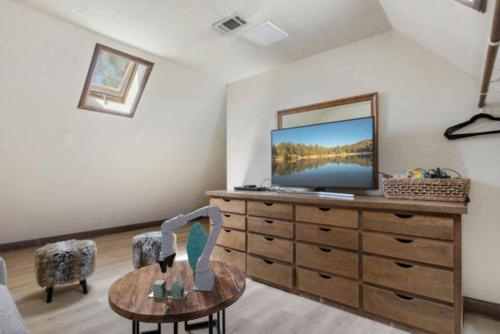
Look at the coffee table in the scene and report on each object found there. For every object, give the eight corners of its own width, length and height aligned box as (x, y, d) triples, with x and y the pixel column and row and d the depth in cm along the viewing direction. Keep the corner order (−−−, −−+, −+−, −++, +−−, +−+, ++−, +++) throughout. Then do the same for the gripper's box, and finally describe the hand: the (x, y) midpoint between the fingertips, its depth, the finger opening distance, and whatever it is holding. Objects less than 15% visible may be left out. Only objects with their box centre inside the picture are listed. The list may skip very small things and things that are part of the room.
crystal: (207, 275, 154) (208, 224, 155) (184, 275, 154) (184, 224, 155) (210, 268, 166) (211, 220, 167) (189, 267, 166) (189, 220, 167)
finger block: (166, 291, 133) (166, 280, 133) (161, 295, 128) (161, 284, 128) (157, 290, 133) (157, 279, 133) (152, 295, 128) (153, 284, 128)
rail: (188, 292, 132) (188, 280, 132) (183, 299, 125) (183, 286, 125) (154, 290, 134) (155, 279, 134) (148, 297, 127) (148, 284, 127)
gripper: (165, 240, 144) (165, 264, 144) (153, 247, 130) (153, 275, 130) (178, 240, 143) (177, 265, 143) (166, 248, 129) (166, 275, 129)
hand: (166, 270), depth 136 cm, fingers open, 7 cm apart
